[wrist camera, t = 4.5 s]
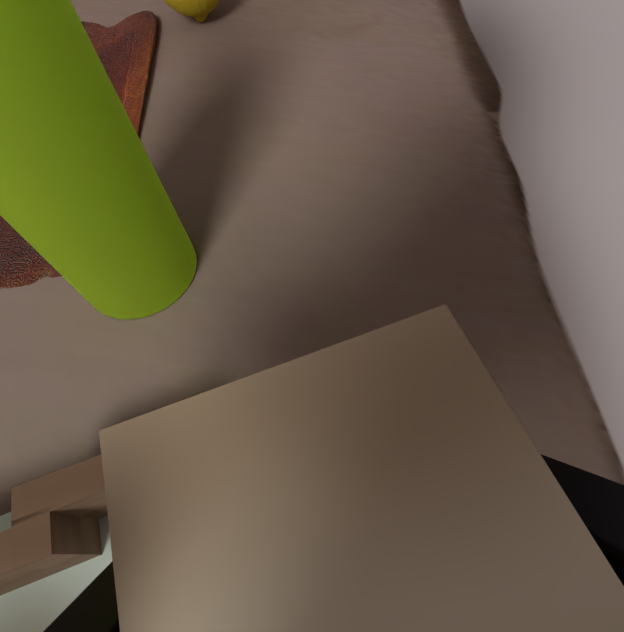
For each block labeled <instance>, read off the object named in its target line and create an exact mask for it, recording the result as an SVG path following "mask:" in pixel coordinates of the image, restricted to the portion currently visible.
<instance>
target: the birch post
mask: <svg viewBox="0 0 624 632" xmlns="http://www.w3.org/2000/svg"><path fill="white" fill-rule="evenodd" d="M99 437H100V447H101V456H102V466H103V475H104V484H105V494H106V503H107V513H108V522H109V532H110V541H111V551H112V560H113V569H114V579H115V588H116V598H117V607H118V617H119V626H120V632H624V586H623V584H622V583H621V581H620V580H619V578H618V576H617V575H616V573H615V572H614V570H613V569H612V567H611V565H610V564H609V562H608V561H607V559H606V557H605V556H604V554H603V553H602V551H601V550H600V548H599V546H598V545H597V543H596V542H595V540H594V538H593V537H592V535H591V534H590V532H589V530H588V529H587V527H586V526H585V524H584V523H583V521H582V519H581V518H580V516H579V515H578V513H577V511H576V510H575V508H574V507H573V505H572V504H571V502H570V500H569V499H568V497H567V496H566V494H565V492H564V491H563V489H562V488H561V486H560V485H559V483H558V481H557V480H556V478H555V477H554V475H553V473H552V472H551V470H550V469H549V467H548V466H547V464H546V462H545V461H544V459H543V458H542V456H541V454H540V453H539V451H538V450H537V448H536V446H535V445H534V443H533V442H532V440H531V439H530V437H529V435H528V434H527V432H526V431H525V429H524V427H523V426H522V424H521V423H520V421H519V420H518V418H517V416H516V415H515V413H514V412H513V410H512V408H511V407H510V405H509V404H508V402H507V401H506V399H505V397H504V396H503V394H502V393H501V391H500V389H499V388H498V386H497V385H496V383H495V382H494V380H493V378H492V377H491V375H490V374H489V372H488V370H487V369H486V367H485V366H484V364H483V362H482V361H481V359H480V358H479V356H478V355H477V353H476V351H475V350H474V348H473V347H472V345H471V343H470V342H469V340H468V339H467V337H466V336H465V334H464V332H463V331H462V329H461V328H460V326H459V324H458V323H457V321H456V320H455V318H454V317H453V315H452V313H451V312H450V310H449V309H448V307H447V305H446V304H444V305H441V306H439V307H436V308H433V309H430V310H428V311H425V312H422V313H419V314H417V315H414V316H411V317H408V318H406V319H403V320H400V321H398V322H395V323H392V324H389V325H387V326H384V327H381V328H378V329H376V330H373V331H370V332H367V333H365V334H362V335H359V336H357V337H354V338H351V339H348V340H346V341H343V342H340V343H337V344H335V345H332V346H329V347H326V348H324V349H321V350H318V351H316V352H313V353H310V354H307V355H305V356H302V357H299V358H296V359H294V360H291V361H288V362H285V363H283V364H280V365H277V366H275V367H272V368H269V369H266V370H264V371H261V372H258V373H255V374H253V375H250V376H247V377H244V378H242V379H239V380H236V381H234V382H231V383H228V384H225V385H223V386H220V387H217V388H214V389H212V390H209V391H206V392H203V393H201V394H198V395H195V396H192V397H190V398H187V399H184V400H182V401H179V402H176V403H173V404H171V405H168V406H165V407H162V408H160V409H157V410H154V411H151V412H149V413H146V414H143V415H141V416H138V417H135V418H132V419H130V420H127V421H124V422H121V423H119V424H116V425H113V426H110V427H108V428H105V429H102V430H100V431H99Z"/></svg>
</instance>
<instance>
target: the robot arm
mask: <svg viewBox="0 0 624 632" xmlns="http://www.w3.org/2000/svg"><path fill="white" fill-rule="evenodd" d="M541 456H542V458H543V459H544V461H545V462H546V464H547V466H548V467H549V469H550V470H551V472H552V473H553V475H554V477H555V478H556V480H557V481H558V483H559V485H560V486H561V488H562V489H563V491H564V492H565V494H566V496H567V497H568V499H569V500H570V502H571V504H572V505H573V507H574V508H575V510H576V511H577V513H578V515H579V516H580V518H581V519H582V521H583V523H584V524H585V526H586V527H587V529H588V530H589V532H590V534H591V535H592V537H593V538H594V540H595V542H596V543H597V545H598V546H599V548H600V550H601V551H602V553H603V554H604V556H605V557H606V559H607V561H608V562H609V564H610V565H611V567H612V569H613V570H614V572H615V573H616V575H617V576H618V578H619V580H620V581H621V583H622V584H623V586H624V485H622V484H619V483H617V482H614V481H611V480H608V479H606V478H603V477H600V476H598V475H595V474H592V473H590V472H587V471H584V470H582V469H579V468H576V467H574V466H571V465H568V464H566V463H563V462H560V461H557V460H555V459H552V458H549V457H547V456H544V455H541ZM43 632H120V626H119V617H118V607H117V598H116V588H115V579H114V569H113V561H112V562H111V563H110V564H109V565H108V566H107V567H106V568H105V569H104V570H103V571H102V572H101V573H100V574H99V575H98V576H97V577H96V578H95V579H94V580H93V581H92V582H91V583H90V584H89V585H88V586H87V587H86V588H85V589H84V590H83V591H82V592H81V593H80V594H79V596H78V597H77V598H76V599H75V600H74V601H73V602H72V603H71V604H70V605H69V606H68V607H67V608H66V609H65V610H64V611H63V612H62V613H61V614H60V615H59V616H58V617H57V618H56V619H55V620H54V621H53V622H52V623H51V624H50V625H49V626H48V627H47V628H46V629H45V630H44V631H43Z"/></svg>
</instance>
